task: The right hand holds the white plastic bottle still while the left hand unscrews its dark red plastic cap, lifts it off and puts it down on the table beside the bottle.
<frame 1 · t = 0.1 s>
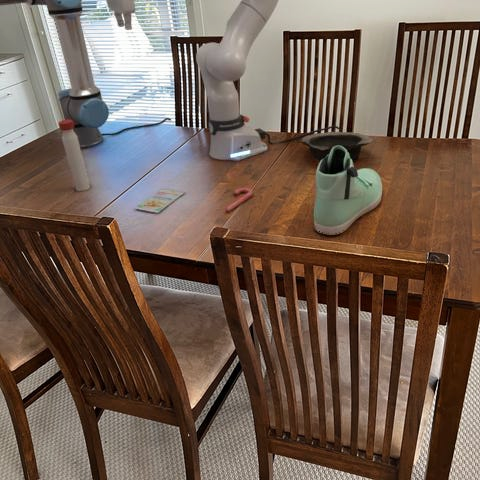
right hand: (125, 28, 148), 48 cm above the table, tool pointing down, fingers open, 8 cm apart
baking ingredient package: (160, 201, 152), on the table
sneaker: (348, 208, 139), on the table
stone bowl: (335, 158, 172), on the table
cap: (65, 122, 153), point 23 cm above the table, screwed on, not yet turned
bottle: (82, 188, 165), on the table
candy cane: (237, 202, 148), on the table
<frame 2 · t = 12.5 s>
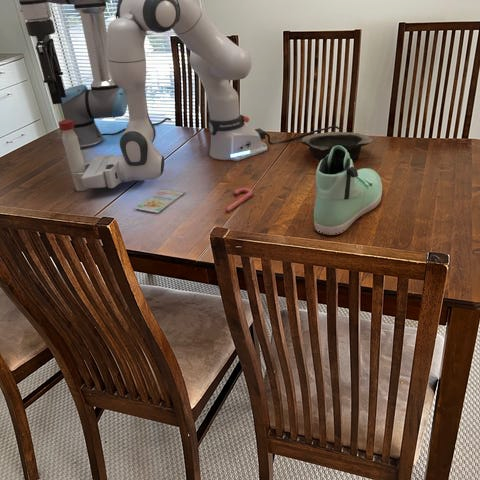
left hand: (59, 100, 149), 30 cm above the table, tool pointing down, fingers open, 7 cm apart
right hand: (75, 171, 162), 6 cm above the table, tool horizontal, fingers closed on bottle, 5 cm apart
bottle: (82, 188, 165), on the table, touching right hand
everything else where it was.
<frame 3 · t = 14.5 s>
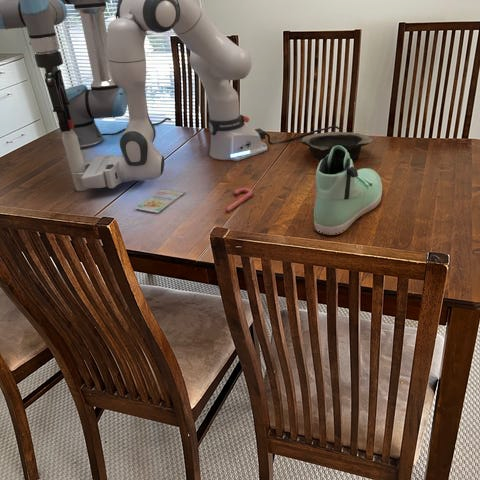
left hand: (67, 128, 154), 21 cm above the table, tool pointing down, fingers closed on cap, 4 cm apart
right hand: (75, 171, 162), 6 cm above the table, tool horizontal, fingers closed on bottle, 5 cm apart
cap: (65, 122, 153), point 23 cm above the table, screwed on, not yet turned, touching left hand
bottle: (82, 188, 165), on the table, touching right hand
everything else where it was.
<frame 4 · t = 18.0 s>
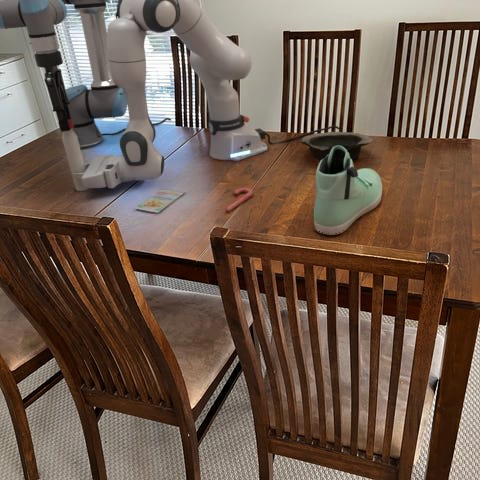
left hand: (67, 128, 154), 21 cm above the table, tool pointing down, fingers closed on cap, 4 cm apart
right hand: (75, 171, 162), 6 cm above the table, tool horizontal, fingers closed on bottle, 5 cm apart
cap: (65, 122, 153), point 23 cm above the table, turned 107° so far, risen 0.1 cm, still on its thread, touching left hand
bottle: (82, 188, 165), on the table, touching right hand
everything else where it was.
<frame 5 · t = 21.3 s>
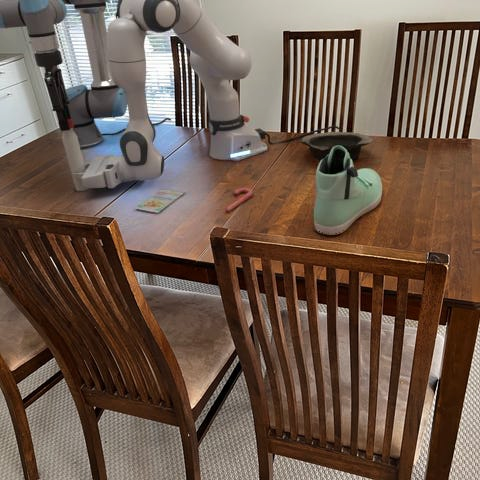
left hand: (67, 127, 154), 21 cm above the table, tool pointing down, fingers closed on cap, 4 cm apart
right hand: (75, 171, 162), 6 cm above the table, tool horizontal, fingers closed on bottle, 5 cm apart
cap: (65, 121, 153), point 23 cm above the table, turned 214° so far, risen 0.3 cm, still on its thread, touching left hand
bottle: (82, 188, 165), on the table, touching right hand
everything else where it was.
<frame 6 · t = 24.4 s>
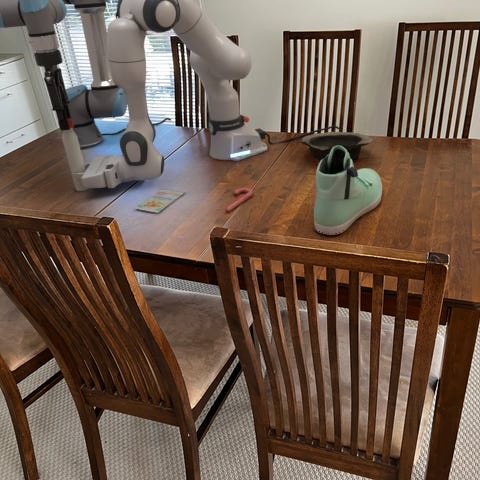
left hand: (66, 127, 154), 21 cm above the table, tool pointing down, fingers closed on cap, 4 cm apart
right hand: (75, 171, 162), 6 cm above the table, tool horizontal, fingers closed on bottle, 5 cm apart
cap: (65, 121, 153), point 23 cm above the table, turned 320° so far, risen 0.4 cm, still on its thread, touching left hand
bottle: (82, 188, 165), on the table, touching right hand
everything else where it was.
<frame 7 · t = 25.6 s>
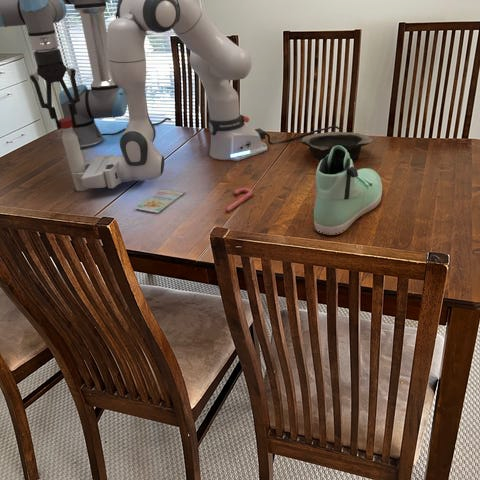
left hand: (66, 126, 154), 22 cm above the table, tool pointing down, fingers closed on cap, 4 cm apart
right hand: (75, 171, 162), 6 cm above the table, tool horizontal, fingers closed on bottle, 5 cm apart
cap: (65, 120, 153), point 24 cm above the table, off its thread, touching left hand
bottle: (82, 188, 165), on the table, touching right hand
everything else where it was.
when the left hand's fingers open (2 cm above the table, at t = 32.7 s): cap drops 2 cm, point 2 cm above the table.
when the right hand's fingers open (6 cm above the table, at t = 34.0 s): bottle stays where it is, on the table.
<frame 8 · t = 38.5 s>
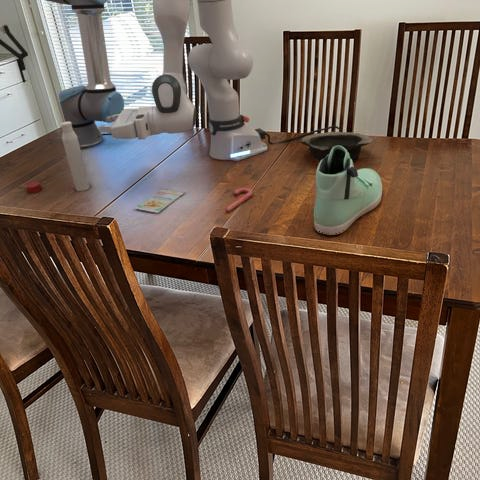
left hand: (0, 85, 147), 36 cm above the table, tool pointing down, fingers open, 13 cm apart
right hand: (103, 124, 153), 22 cm above the table, tool horizontal, fingers open, 8 cm apart
cap: (33, 185, 165), point 2 cm above the table, off its thread
bottle: (82, 188, 165), on the table
everything else where it was.
at the end: cap came off its thread; cap point 1.9 cm above the table; the left hand is holding nothing; the right hand is holding nothing; bottle tilted 0°; bottle moved 0.0 cm from its start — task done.
